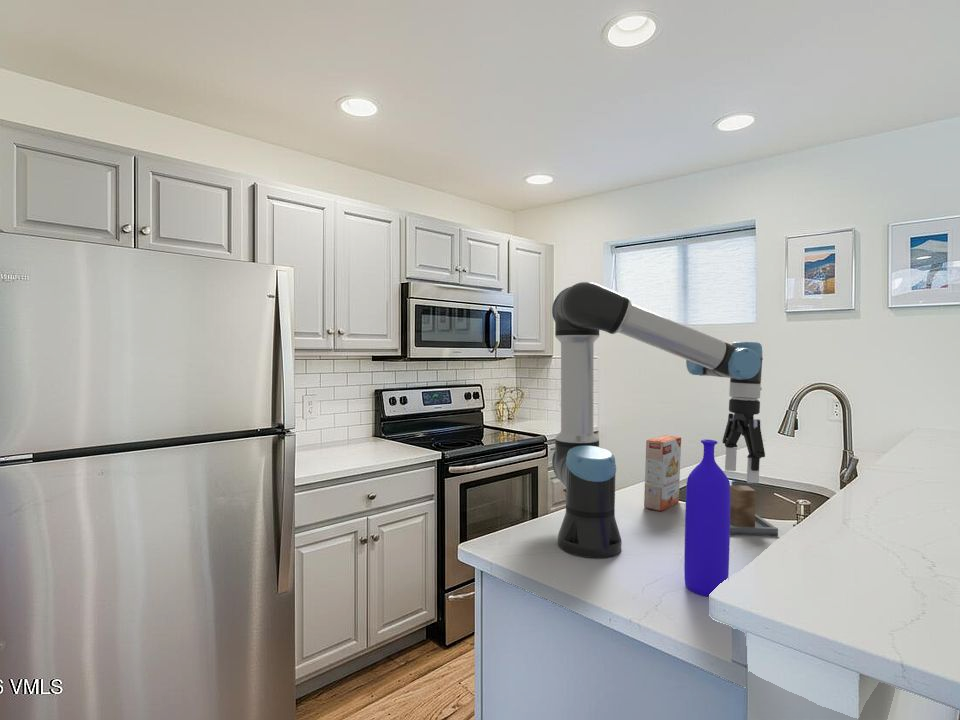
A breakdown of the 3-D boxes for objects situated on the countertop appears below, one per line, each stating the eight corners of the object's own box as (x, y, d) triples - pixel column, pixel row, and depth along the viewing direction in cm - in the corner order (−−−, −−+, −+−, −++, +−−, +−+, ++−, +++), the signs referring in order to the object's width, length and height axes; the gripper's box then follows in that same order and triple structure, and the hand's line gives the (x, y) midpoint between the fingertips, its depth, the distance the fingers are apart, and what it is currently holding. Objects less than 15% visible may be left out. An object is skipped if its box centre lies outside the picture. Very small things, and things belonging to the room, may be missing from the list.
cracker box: (662, 512, 156) (664, 442, 155) (643, 508, 160) (644, 439, 159) (680, 502, 166) (682, 436, 166) (662, 498, 170) (663, 434, 170)
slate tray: (726, 534, 138) (727, 527, 138) (707, 518, 151) (708, 511, 151) (777, 535, 137) (778, 528, 137) (754, 519, 150) (754, 513, 150)
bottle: (682, 577, 112) (685, 436, 111) (724, 582, 109) (728, 438, 108) (685, 594, 104) (688, 442, 103) (731, 600, 101) (735, 445, 100)
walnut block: (735, 527, 142) (736, 490, 142) (728, 521, 147) (729, 485, 146) (754, 527, 141) (755, 490, 141) (746, 521, 146) (747, 485, 146)
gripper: (782, 404, 131) (778, 489, 131) (738, 395, 156) (735, 466, 156) (751, 402, 131) (747, 487, 131) (712, 394, 156) (709, 465, 156)
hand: (740, 476), depth 144 cm, fingers open, 13 cm apart
